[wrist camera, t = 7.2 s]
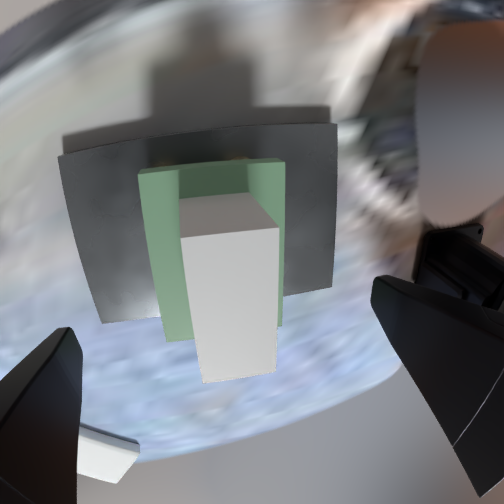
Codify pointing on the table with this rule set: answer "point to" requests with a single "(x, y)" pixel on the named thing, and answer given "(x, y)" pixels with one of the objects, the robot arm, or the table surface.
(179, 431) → the table surface
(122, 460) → the external hard drive
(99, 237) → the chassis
